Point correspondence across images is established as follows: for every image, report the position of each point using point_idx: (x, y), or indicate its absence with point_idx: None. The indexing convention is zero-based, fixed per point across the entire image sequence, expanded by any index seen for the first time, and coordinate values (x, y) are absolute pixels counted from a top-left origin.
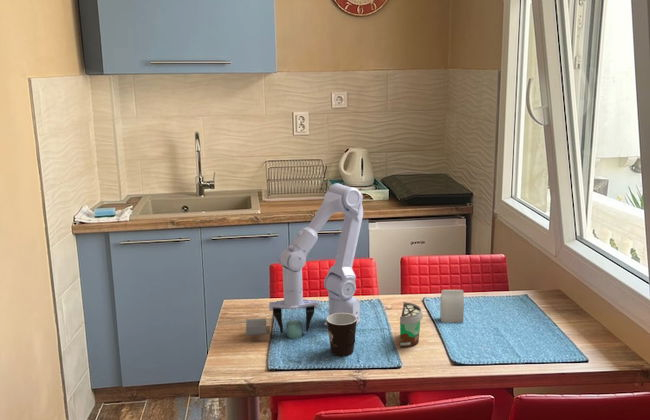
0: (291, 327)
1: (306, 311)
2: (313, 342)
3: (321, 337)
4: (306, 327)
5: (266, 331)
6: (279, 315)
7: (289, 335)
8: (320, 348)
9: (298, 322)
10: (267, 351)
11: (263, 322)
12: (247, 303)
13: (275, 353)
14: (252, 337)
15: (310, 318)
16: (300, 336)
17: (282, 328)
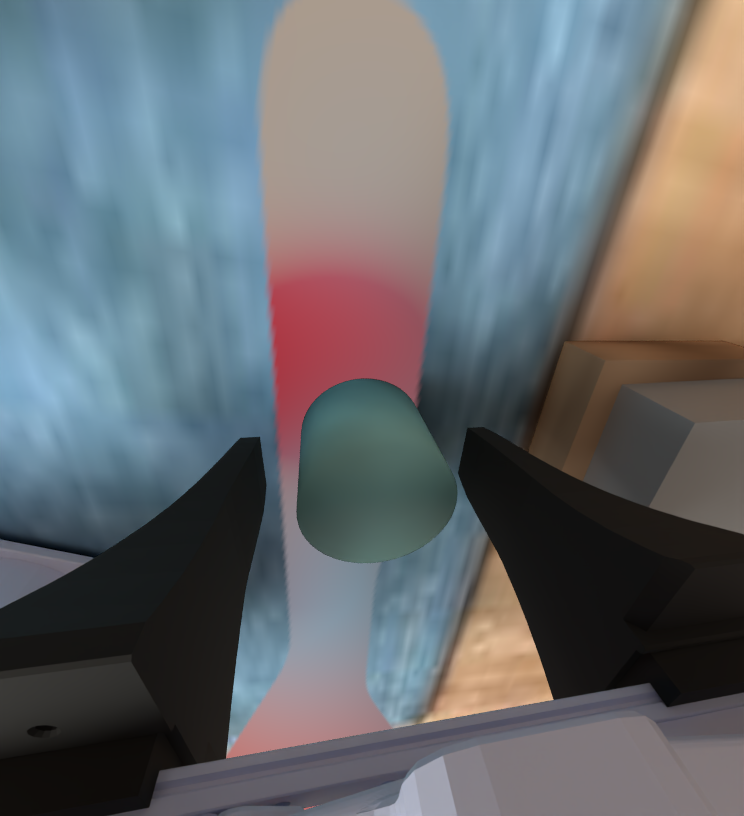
0: (412, 436)
1: (131, 670)
2: (174, 268)
3: (111, 376)
4: (245, 455)
5: (635, 403)
6: (670, 541)
7: (410, 402)
8: (34, 48)
9: (333, 521)
10: (661, 106)
11: (672, 504)
12: (534, 701)
13: (609, 13)
14: (725, 355)
15: (139, 536)
16: (314, 402)
17: (491, 444)
